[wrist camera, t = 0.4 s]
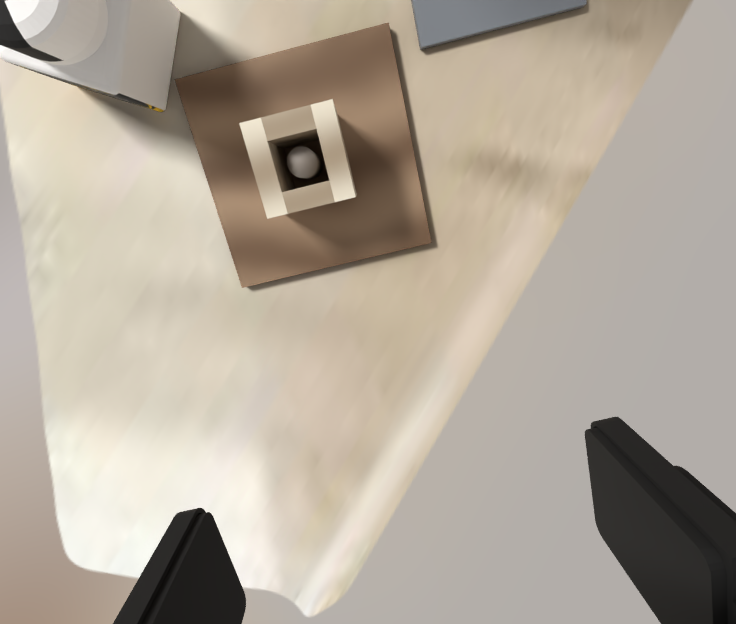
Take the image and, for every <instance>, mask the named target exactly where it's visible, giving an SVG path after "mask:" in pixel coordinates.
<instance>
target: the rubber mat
mask: <svg viewBox="0 0 736 624" xmlns="http://www.w3.org/2000/svg"><path fill="white" fill-rule="evenodd" d="M411 1H412V7H413V13H414V18H415V24H416V29H417V35H418V40H419V46H420V50H421V49H425V48H429V47H433V46H436V45H440V44H444V43H448V42H452V41H456V40H459V39H463V38H467V37H471V36H475V35H479V34H482V33H486V32H490V31H494V30H498V29H501V28H505V27H509V26H513V25H517V24H521V23H524V22H528V21H532V20H536V19H540V18H544V17H547V16H551V15H555V14H559V13H563V12H566V11H570V10H574V9H578V8H582V7H584V6H585V5H586V4H587V2H586V0H411Z"/></svg>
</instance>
